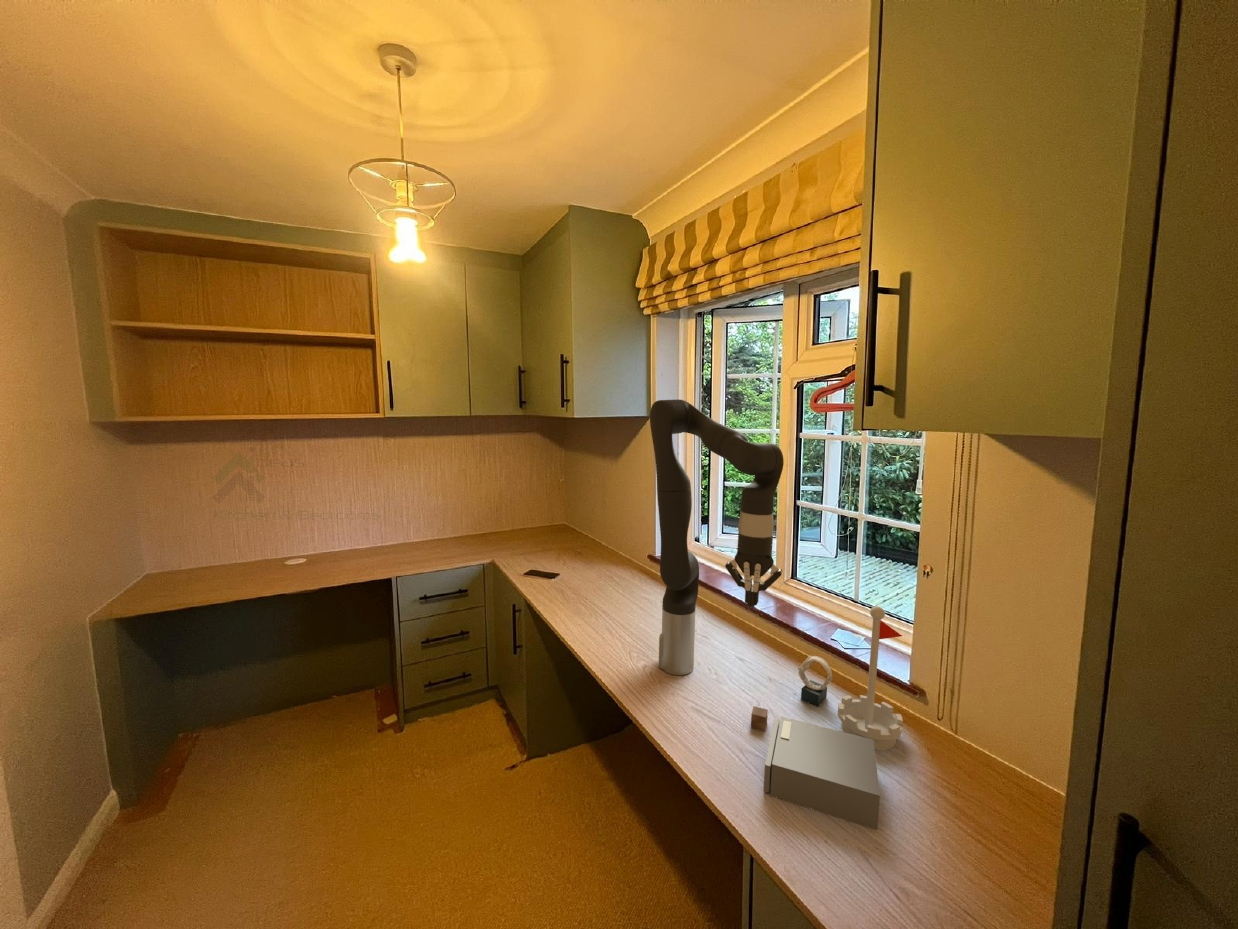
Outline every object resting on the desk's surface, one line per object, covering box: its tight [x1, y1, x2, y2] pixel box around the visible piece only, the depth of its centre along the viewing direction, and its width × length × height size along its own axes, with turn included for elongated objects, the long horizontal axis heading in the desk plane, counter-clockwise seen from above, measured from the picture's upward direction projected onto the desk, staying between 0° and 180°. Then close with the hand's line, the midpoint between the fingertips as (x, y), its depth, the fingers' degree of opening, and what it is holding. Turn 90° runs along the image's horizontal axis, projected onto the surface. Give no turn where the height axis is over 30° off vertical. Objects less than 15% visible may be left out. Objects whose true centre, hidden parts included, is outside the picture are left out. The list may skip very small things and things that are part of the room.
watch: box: [797, 655, 833, 708], centre depth 124 cm, size 6×8×11 cm
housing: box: [769, 715, 881, 830], centre depth 96 cm, size 18×16×7 cm
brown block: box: [750, 706, 769, 733], centre depth 113 cm, size 3×3×4 cm
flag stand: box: [837, 605, 904, 751], centre depth 110 cm, size 13×13×30 cm
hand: (751, 605), depth 112 cm, fingers closed
